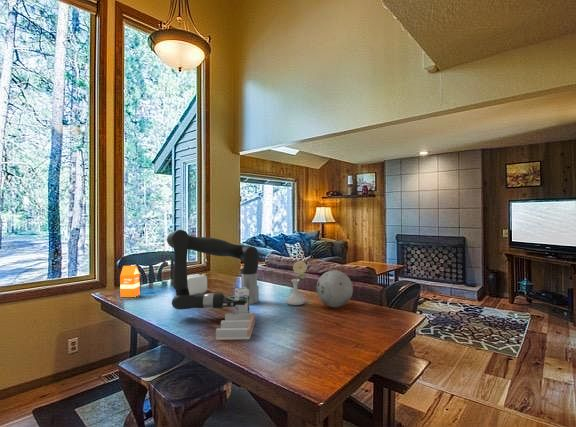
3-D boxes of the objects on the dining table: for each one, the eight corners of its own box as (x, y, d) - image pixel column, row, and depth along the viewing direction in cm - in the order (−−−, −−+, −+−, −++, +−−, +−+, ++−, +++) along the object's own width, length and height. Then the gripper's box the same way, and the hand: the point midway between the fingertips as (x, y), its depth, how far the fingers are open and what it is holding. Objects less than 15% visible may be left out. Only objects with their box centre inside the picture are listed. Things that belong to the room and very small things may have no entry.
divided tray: (215, 339, 132) (215, 330, 132) (226, 321, 154) (225, 313, 154) (249, 339, 132) (249, 329, 132) (254, 321, 154) (254, 313, 154)
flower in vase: (282, 305, 179) (282, 261, 179) (290, 300, 190) (289, 258, 190) (304, 308, 174) (303, 262, 174) (310, 302, 185) (310, 259, 185)
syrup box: (238, 319, 156) (238, 290, 156) (235, 316, 161) (234, 288, 161) (249, 318, 159) (249, 289, 159) (245, 314, 164) (245, 286, 164)
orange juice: (134, 298, 201) (133, 266, 201) (120, 298, 202) (119, 266, 202) (139, 294, 209) (139, 264, 209) (126, 295, 209) (126, 264, 209)
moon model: (360, 306, 176) (359, 270, 176) (339, 314, 162) (338, 275, 162) (331, 299, 190) (330, 266, 190) (309, 307, 176) (308, 270, 176)
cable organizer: (186, 296, 203) (185, 278, 203) (179, 293, 211) (178, 276, 211) (207, 292, 213) (207, 275, 213) (200, 289, 221) (199, 273, 221)
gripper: (210, 297, 153) (244, 296, 153) (216, 290, 167) (247, 289, 167) (210, 312, 153) (244, 312, 153) (216, 304, 167) (248, 303, 167)
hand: (246, 300), depth 160 cm, fingers closed on syrup box, 7 cm apart
